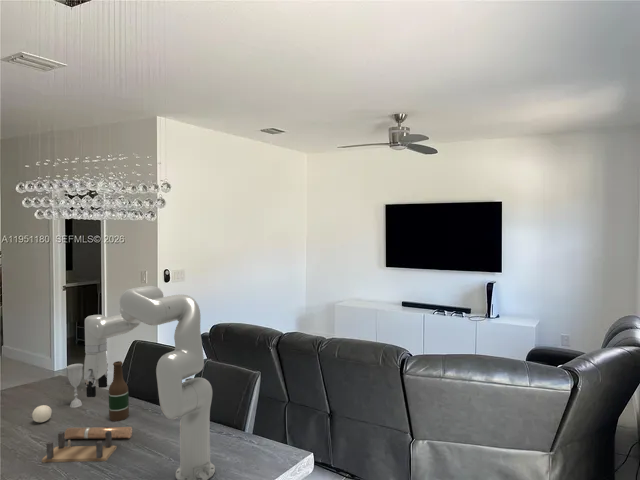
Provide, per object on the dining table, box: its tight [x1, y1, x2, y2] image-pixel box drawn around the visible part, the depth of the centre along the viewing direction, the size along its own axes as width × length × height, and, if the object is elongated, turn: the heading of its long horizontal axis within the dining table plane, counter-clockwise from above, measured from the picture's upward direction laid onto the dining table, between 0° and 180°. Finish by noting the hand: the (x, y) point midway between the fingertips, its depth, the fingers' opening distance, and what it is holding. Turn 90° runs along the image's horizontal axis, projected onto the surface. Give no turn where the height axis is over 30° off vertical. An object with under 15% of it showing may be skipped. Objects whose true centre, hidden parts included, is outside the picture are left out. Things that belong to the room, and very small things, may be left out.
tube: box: [64, 426, 133, 440], centre depth 177 cm, size 24×4×4 cm, turn 92°
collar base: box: [41, 431, 117, 463], centre depth 165 cm, size 22×9×6 cm, turn 92°
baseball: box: [31, 404, 53, 423], centre depth 192 cm, size 7×7×7 cm
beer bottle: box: [108, 360, 130, 422], centre depth 195 cm, size 8×8×24 cm
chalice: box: [66, 363, 84, 408], centre depth 209 cm, size 7×7×18 cm
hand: (97, 391), depth 176 cm, fingers open, 9 cm apart
